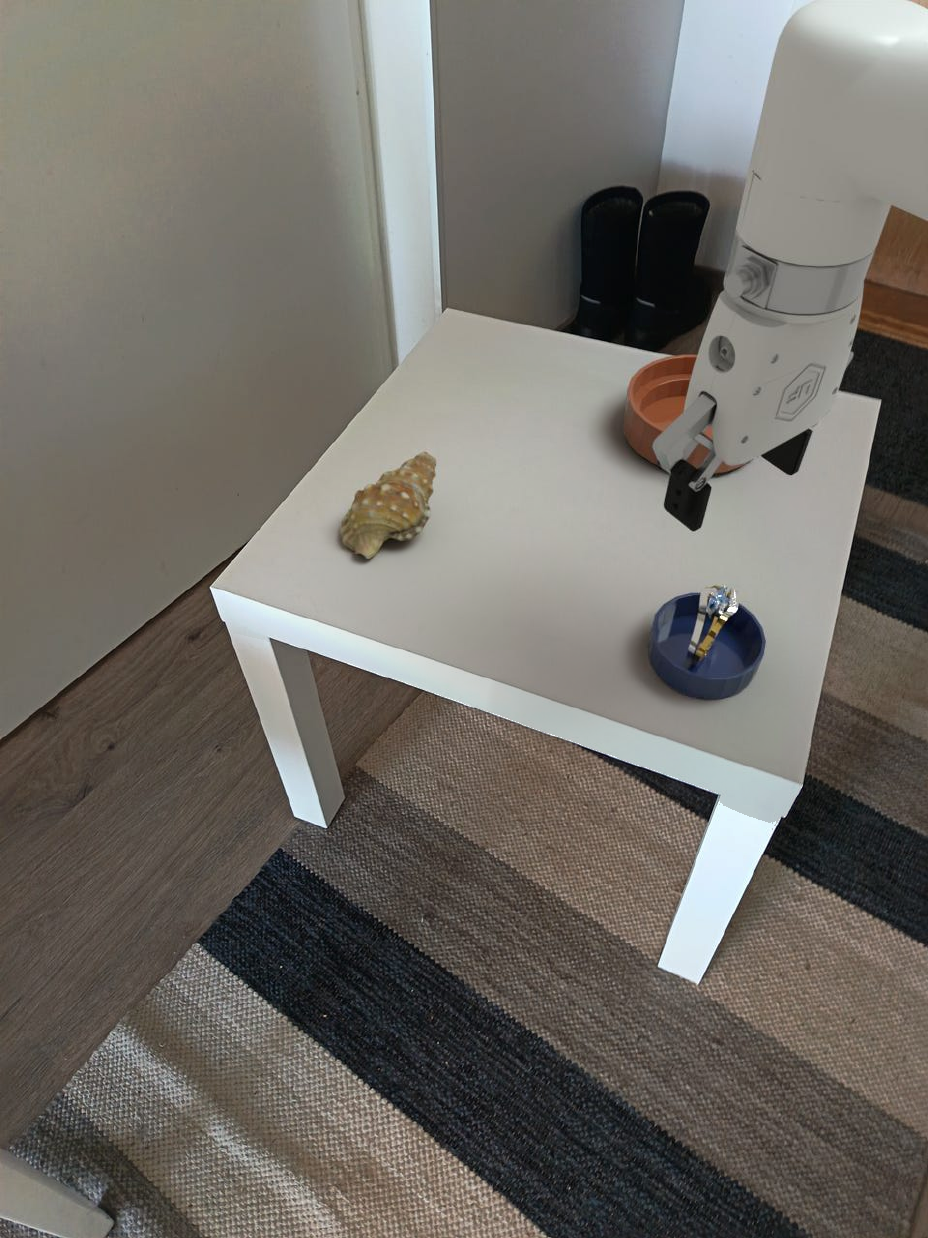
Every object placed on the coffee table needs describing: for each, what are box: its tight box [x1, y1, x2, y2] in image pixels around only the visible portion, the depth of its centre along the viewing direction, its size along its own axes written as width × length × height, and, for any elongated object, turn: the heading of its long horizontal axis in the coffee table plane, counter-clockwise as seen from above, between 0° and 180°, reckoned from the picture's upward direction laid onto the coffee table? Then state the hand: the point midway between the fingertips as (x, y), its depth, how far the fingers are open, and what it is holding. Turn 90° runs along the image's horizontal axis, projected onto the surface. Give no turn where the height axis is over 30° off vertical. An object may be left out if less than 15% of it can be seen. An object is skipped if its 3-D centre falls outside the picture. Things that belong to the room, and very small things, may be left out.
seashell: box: [339, 451, 437, 560], centre depth 85 cm, size 9×8×10 cm
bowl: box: [622, 354, 748, 475], centre depth 93 cm, size 15×15×5 cm
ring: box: [686, 583, 740, 666], centre depth 72 cm, size 7×3×8 cm, turn 143°
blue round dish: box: [647, 592, 767, 701], centre depth 74 cm, size 9×9×3 cm
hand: (731, 490), depth 62 cm, fingers open, 9 cm apart
